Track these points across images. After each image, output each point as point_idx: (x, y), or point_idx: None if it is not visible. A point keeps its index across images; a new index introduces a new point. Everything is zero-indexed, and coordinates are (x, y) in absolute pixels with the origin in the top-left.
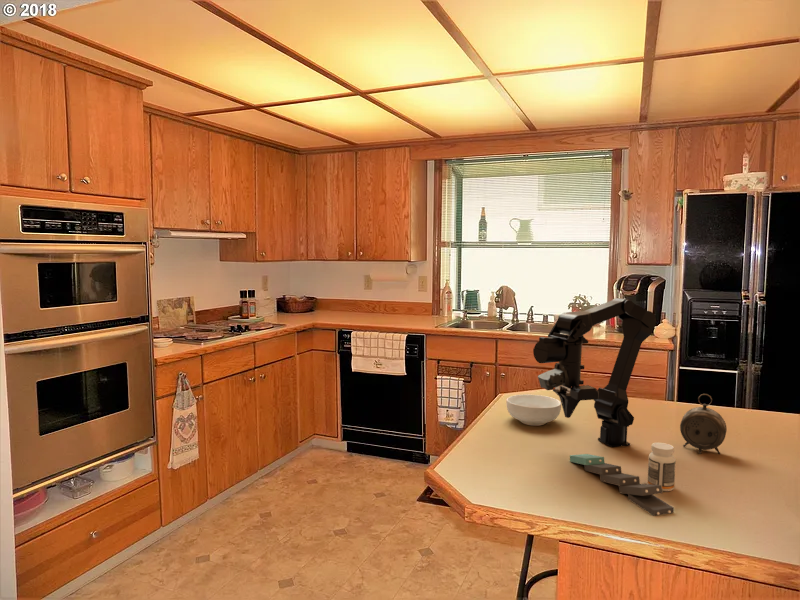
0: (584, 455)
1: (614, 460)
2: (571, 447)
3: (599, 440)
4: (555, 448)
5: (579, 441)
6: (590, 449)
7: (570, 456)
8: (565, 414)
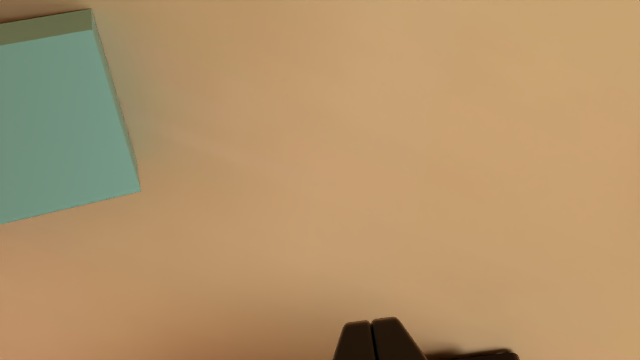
0: (22, 148)
1: (146, 312)
2: (433, 152)
3: (491, 355)
4: (445, 7)
5: (534, 249)
6: (362, 257)
7: (76, 29)
8: (378, 352)
